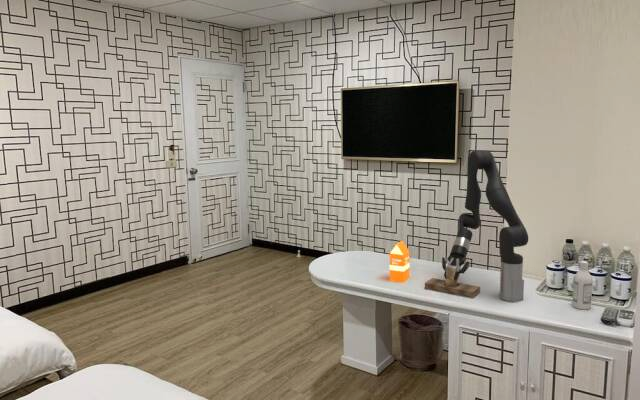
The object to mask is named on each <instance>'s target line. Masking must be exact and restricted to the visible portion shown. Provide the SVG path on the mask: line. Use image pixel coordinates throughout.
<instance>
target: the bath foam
mask: <svg viewBox="0 0 640 400" xmlns="http://www.w3.org/2000/svg"><path fill="white" fill-rule="evenodd" d="M588 266H589V262H588V261H586V260H580V262H579V270H577V272H576V273H575V274H574V277H573V289H572V304H571V305H572V307H574V308H575V309H577V310H584V311H585V310H590V309H592V308H591V307H592V294H593V278H592V276H591V275H592V274H590V272H589V269H588V268H589V267H588Z"/></svg>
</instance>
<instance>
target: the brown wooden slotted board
mask: <svg viewBox="0 0 640 400" xmlns="http://www.w3.org/2000/svg"><path fill="white" fill-rule="evenodd" d="M424 290H428V291H433V292H440V293H444V294H449V295H453V296H458V297H459V296H460V297H465V298H469V299H474V298H476V297H477V296H478V295H479V294H480V293H481V286H478V285H473V284H467V283H462V282H457V287H456V288H455V287H450V286H446V279H440V278H434V277H432V278H430V279H428V280H426V281H425V282H424Z"/></svg>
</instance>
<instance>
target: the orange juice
mask: <svg viewBox="0 0 640 400" xmlns="http://www.w3.org/2000/svg"><path fill="white" fill-rule="evenodd" d="M410 267H411V266H410V250H409V249H408V246H407V245H406V244H405V243H404V240H401V241H399V242H397V243H396V244H395V246H394V247H393V248H392V250H391V251H390V252H389V282H396V283H403V284H404V283H406V282H407V281H408V280H409V279H410ZM406 280H407V281H406Z"/></svg>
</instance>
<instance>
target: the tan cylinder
mask: <svg viewBox="0 0 640 400" xmlns="http://www.w3.org/2000/svg"><path fill="white" fill-rule="evenodd" d="M456 270H457V267H456V266H453V265H449V266H447V265H446V279H445V280H446V286H450V287H455V288H456V287H457V283H458V279H457V280H456V281H455V280H454V276H455V273H456Z"/></svg>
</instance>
